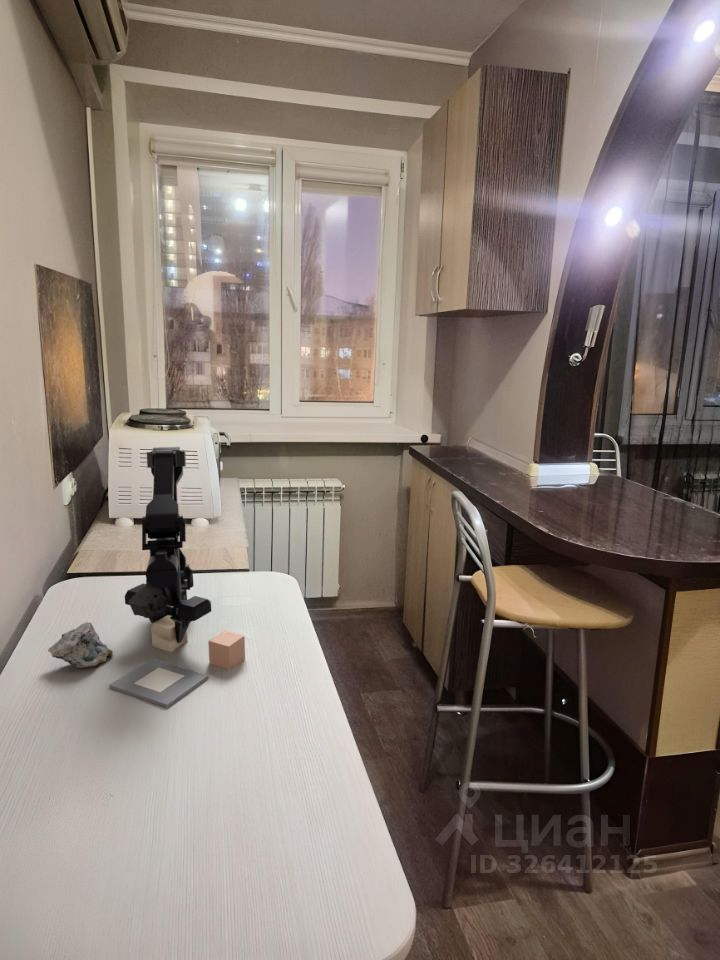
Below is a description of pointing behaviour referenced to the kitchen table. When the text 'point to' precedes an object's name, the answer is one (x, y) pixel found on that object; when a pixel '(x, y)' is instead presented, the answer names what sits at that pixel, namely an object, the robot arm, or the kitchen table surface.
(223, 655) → the terracotta cube
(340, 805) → the kitchen table surface
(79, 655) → the mineral specimen
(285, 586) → the kitchen table surface
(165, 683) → the slate board
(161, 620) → the beech cube
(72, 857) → the kitchen table surface
